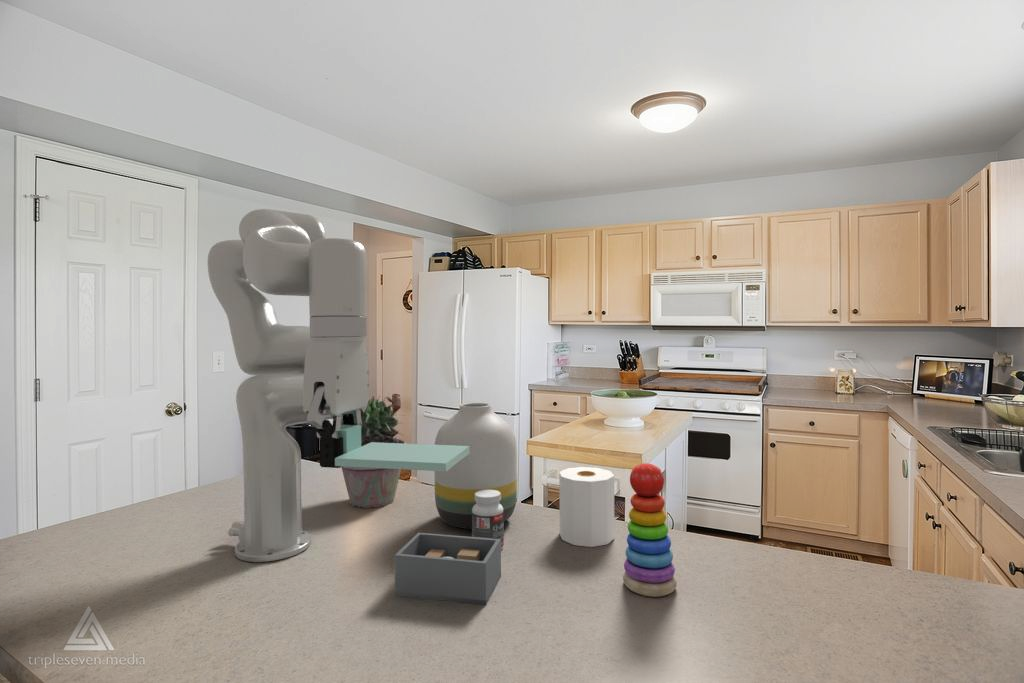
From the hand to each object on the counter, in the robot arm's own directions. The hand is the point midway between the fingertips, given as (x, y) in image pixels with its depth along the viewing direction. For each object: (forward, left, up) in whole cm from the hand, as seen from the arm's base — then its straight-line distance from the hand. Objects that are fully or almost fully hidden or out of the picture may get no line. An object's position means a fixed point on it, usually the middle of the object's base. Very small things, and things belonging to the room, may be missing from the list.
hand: (340, 461), depth 74 cm
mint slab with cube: (+8, 0, +1) cm, 8 cm away
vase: (+8, +39, -21) cm, 45 cm away
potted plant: (-20, +46, -21) cm, 54 cm away
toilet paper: (+31, +35, -22) cm, 51 cm away
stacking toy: (+42, +17, -21) cm, 50 cm away
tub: (+12, +11, -21) cm, 27 cm away
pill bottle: (+14, +26, -21) cm, 36 cm away
